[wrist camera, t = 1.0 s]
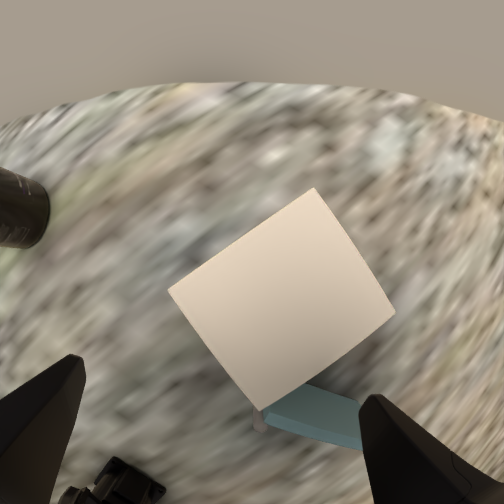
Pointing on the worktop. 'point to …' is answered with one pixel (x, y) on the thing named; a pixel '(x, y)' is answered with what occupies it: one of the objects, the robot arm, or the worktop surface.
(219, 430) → the worktop surface
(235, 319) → the carton
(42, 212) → the supplement bottle
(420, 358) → the worktop surface
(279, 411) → the flap
